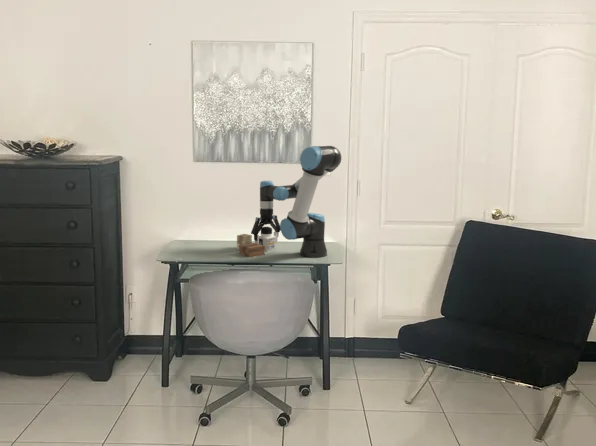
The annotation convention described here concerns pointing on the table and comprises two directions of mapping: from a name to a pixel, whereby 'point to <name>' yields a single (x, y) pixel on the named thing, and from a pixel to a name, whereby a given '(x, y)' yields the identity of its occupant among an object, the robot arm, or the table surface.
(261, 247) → the walnut block
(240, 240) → the maple block
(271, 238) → the container
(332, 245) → the table surface
